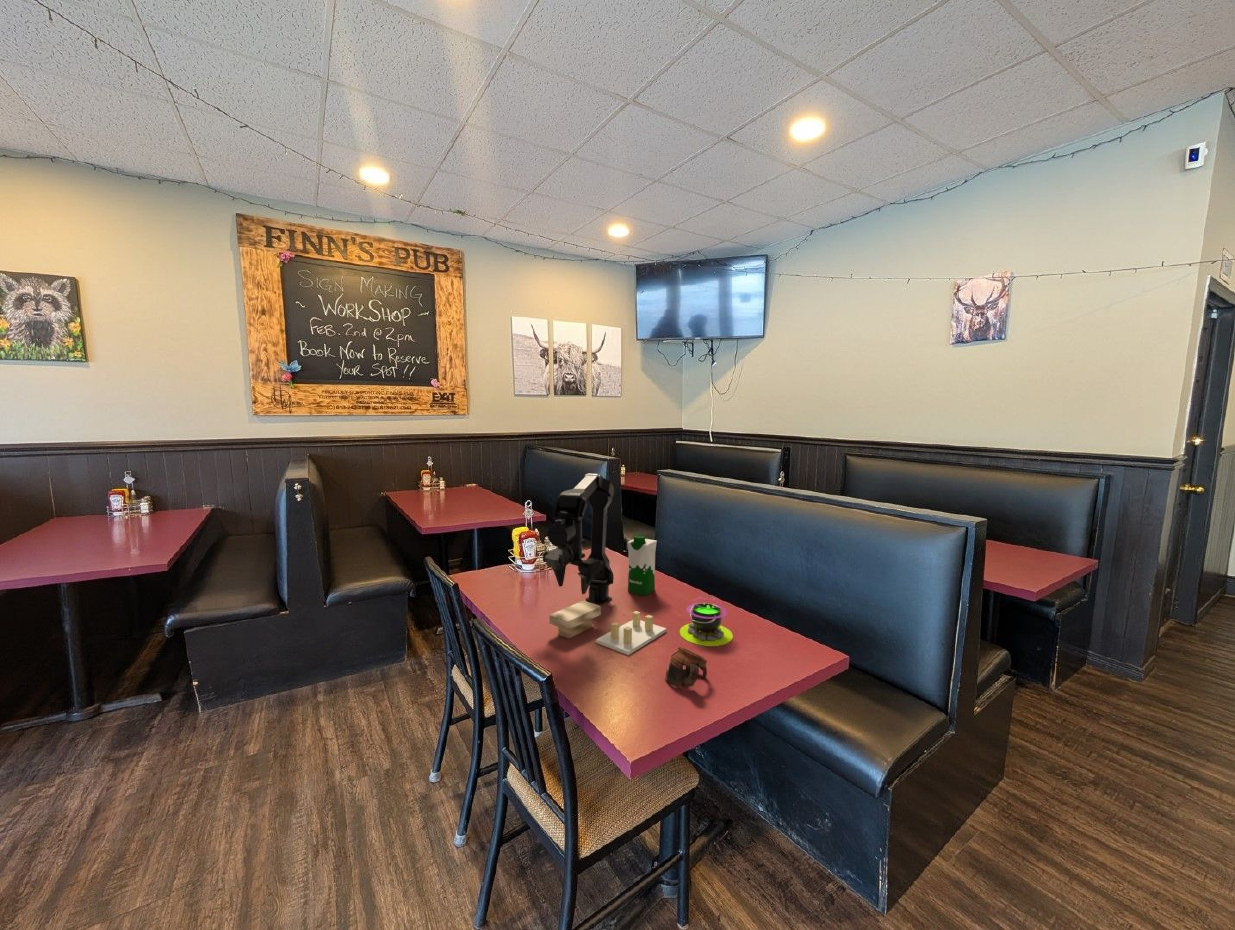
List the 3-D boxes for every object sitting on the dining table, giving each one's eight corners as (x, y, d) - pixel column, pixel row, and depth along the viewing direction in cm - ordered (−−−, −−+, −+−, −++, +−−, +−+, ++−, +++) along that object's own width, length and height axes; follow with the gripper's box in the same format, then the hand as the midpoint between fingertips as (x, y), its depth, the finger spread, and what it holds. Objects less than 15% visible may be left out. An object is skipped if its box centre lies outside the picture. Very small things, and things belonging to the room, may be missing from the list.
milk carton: (624, 592, 176) (624, 536, 174) (637, 584, 183) (638, 531, 181) (646, 597, 171) (647, 539, 169) (658, 589, 179) (659, 534, 177)
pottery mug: (657, 674, 123) (670, 641, 125) (691, 689, 124) (703, 656, 126) (673, 688, 111) (687, 652, 113) (710, 704, 112) (723, 668, 114)
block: (582, 623, 150) (582, 611, 150) (592, 626, 148) (592, 615, 148) (558, 634, 143) (558, 622, 142) (568, 638, 140) (568, 626, 140)
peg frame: (635, 621, 152) (635, 605, 151) (666, 631, 145) (666, 615, 145) (596, 642, 138) (596, 625, 137) (628, 655, 131) (628, 636, 130)
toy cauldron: (670, 627, 148) (671, 591, 147) (714, 620, 154) (715, 585, 153) (696, 650, 134) (697, 610, 133) (743, 641, 140) (745, 603, 139)
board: (583, 608, 152) (583, 600, 152) (600, 614, 148) (600, 606, 148) (549, 623, 142) (549, 615, 141) (567, 630, 137) (567, 621, 137)
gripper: (527, 536, 142) (528, 590, 144) (575, 549, 130) (575, 607, 132) (556, 529, 151) (557, 579, 152) (603, 540, 139) (603, 595, 141)
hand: (572, 590), depth 144 cm, fingers open, 9 cm apart
